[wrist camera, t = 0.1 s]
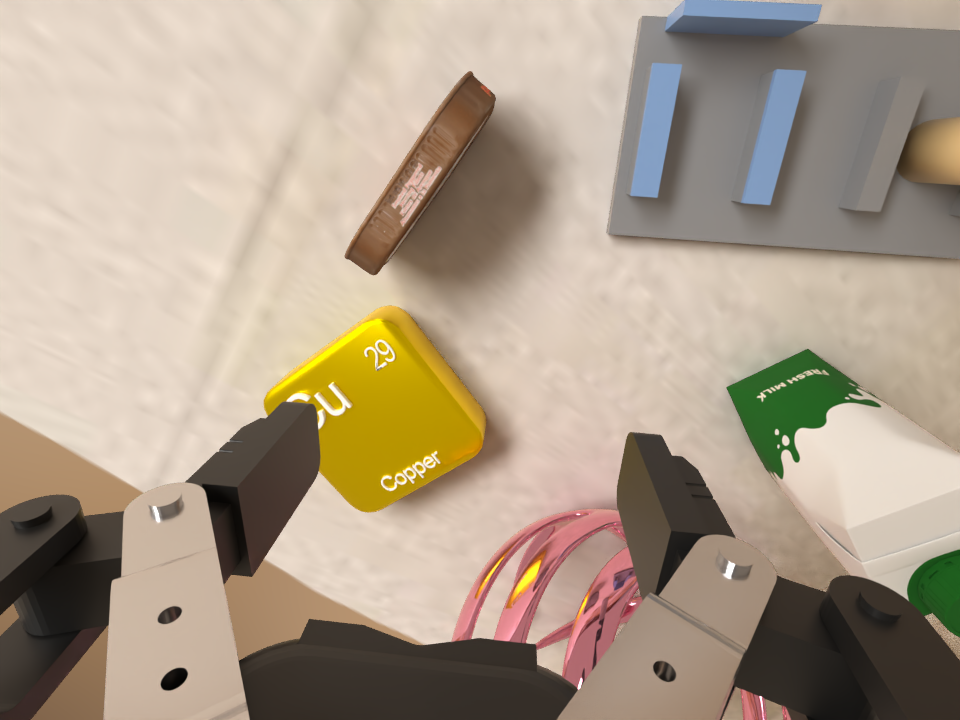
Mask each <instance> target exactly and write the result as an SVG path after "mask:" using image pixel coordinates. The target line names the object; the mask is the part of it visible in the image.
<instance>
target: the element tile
mask: <svg viewBox="0 0 960 720" xmlns="http://www.w3.org/2000/svg"><path fill="white" fill-rule="evenodd" d="M284 401H287V402H299V403H310V404H314V405H315V407H316V411H317V419H318V431H319V443H320V456H321V458H320V467H319V472H320V473H321V474H322V475H323V476H324V477H325V478H326V479H327V480H328V481H329V482H330V484H331V485H332V486H333V487H334V488H335V489H336V490H337V491H338V492H339V493H340V494H341V495H342V496H343V497H344V498H345V500H346V501H347V502H348V503H349V504H350V505H352V506H353V507H354V508H356V509H358V510H360V511H363V512H368V513H369V512H376V511H379V510H381V509H383V508H385V507H387V506H388V505H390V504H392V503H394V502H396V501H397V500H399V499H401V498H403V497H404V496H406V495H408V494H410V493H412V492H413V491H415V490H417V489H419V488H420V487H422V486H424V485H426V484H427V483H429V482H431V481H433V480H435V479H436V478H438V477H440V476H442V475H443V474H445V473H447V472H449V471H450V470H452V469H454V468H456V467H458V466H459V465H461V464H463V463H465V462H466V461H468V460H470V459H472V458H473V457H474V456H476V455H477V454H478V453H479V451H480V450H481V448H482V446H483V441H484V435H485V427H486V416H485V413H484V411H483V409H482V408H481V406H480V405H479V404H478V402H477V401H476V400H475V399H474V397H473V396H472V395H471V393H470V392H469V391H468V390H467V388H466V387H465V386H464V384H463V383H462V382H461V381H460V379H459V378H458V377H457V375H456V374H455V373H454V372H453V370H452V369H451V368H450V366H449V365H448V364H447V363H446V361H445V360H444V359H443V357H442V356H441V355H440V354H439V352H438V351H437V350H436V348H435V347H434V346H433V345H432V343H431V342H430V341H429V339H428V338H427V337H426V336H425V334H424V333H423V332H422V330H421V329H420V328H419V327H418V325H417V324H416V323H415V321H414V320H413V319H412V318H411V316H410V315H409V314H408V313H407V312H406V311H404V310H402V309H401V308H399V307H396V306H384V307H381V308H379V309H376V310H375V311H373V312H372V313H371V314H369V315H368V316H366V317H365V318H364V319H362V320H361V321H360V322H358V323H357V324H355V325H354V326H353V327H351V328H350V329H348V330H347V331H346V332H344V333H343V334H341V335H340V336H339V337H337V338H336V339H335V340H333V341H332V342H330V343H329V344H328V345H326V346H325V347H323V348H322V349H321V350H319V351H318V352H317V353H315V354H314V355H312V356H311V357H310V358H308V359H307V360H305V361H304V362H303V363H301V364H300V365H299V366H297V367H296V368H294V369H293V370H292V371H290V372H289V373H288V374H287V375H286V376H285V377H284V378H282V379H281V380H280V381H279V382H278V383H277V384H276V385H275V386H274V387H273V388H272V389H271V390H270V391H269V392H268V393H267V395H266V397H265V399H264V409H265V411H266V414H267V415H268V416H269V415H270V414H271V413H272V412H273V411H274V410H275V409H276V408H277V407H278V406H279V405H280V404H281V403H282V402H284Z"/></svg>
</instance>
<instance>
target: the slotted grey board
mask: <svg viewBox="0 0 960 720" xmlns="http://www.w3.org/2000/svg"><path fill="white" fill-rule="evenodd" d="M821 6H822V5H817V4H794V3H771V2H749V1H726V0H684V1H683V2H682V3H681V4H680V5H679V6H678V7H677V8H676V9H675V10H674V11H673V12H672V13H671V14H670V15H669V16H668V17H656V16H642V17H641V18H640V19H639V24H638V30H637V37H636V43H635V50H634V56H633V63H632V69H631V76H630V82H629V89H628V95H627V102H626V108H625V115H624V121H623V128H622V135H621V141H620V148H619V154H618V161H617V167H616V174H615V180H614V187H613V193H612V200H611V206H610V213H609V219H608V226H607V233H608V234H611V235H626V236H640V237H654V238H668V239H683V240H697V241H711V242H726V243H740V244H754V245H768V246H783V247H797V248H811V249H825V250H840V251H854V252H868V253H883V254H897V255H911V256H925V257H940V258H954V259H960V185H950V184H934V183H918V182H911V181H908V180H906V179H904V178H903V177H902V176H901V175H900V174H899V172H898V170H897V168H896V166H897V163H898V161H899V158H900V155H901V152H902V149H903V147H904V144H905V141H906V138H907V135H908V133H909V132H910V131H911V130H912V129H913V128H914V127H916V126H917V125H919V124H921V123H923V122H926V121H929V120H933V119H943V118H953V117H960V31H959V30H937V29H916V28H894V27H872V26H851V25H829V24H813V23H815V22H817V21H818V17H819V14H820V10H821Z"/></svg>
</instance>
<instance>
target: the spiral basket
mask: <svg viewBox="0 0 960 720" xmlns="http://www.w3.org/2000/svg"><path fill="white" fill-rule="evenodd" d="M604 529H606V530H608V531H610V532H612V533H613V534H615V535H617V536H618V537H620V538H621V539H622V540H624V541H625V542H626V543H627V541H626V537H625V534H624V530H623V526H622V522H621V519H620V515H619V511H618V510H610V509H583V510H574V511H568V512H563V513H558V514H554V515H551V516H548V517H545V518H542V519H540V520H538V521H536V522H534V523H532V524H530V525H528V526H526V527H525V528H523V529H522V530H520V531H519V532H517V533H516V534H515V535H513V536H512V537H511V538H510V539H509V540H508V541H506V542H505V543H504V544H503V545H502V546H501V547H500V548H499V549H498V550H497V552H496V553H495V554H494V555H493V556H492V557H491V559H490V560H489V561H488V562H487V564H486V565H485V567H484V568H483V569H482V571H481V573H480V574H479V576H478V577H477V579H476V581H475V582H474V584H473V586H472V588H471V590H470V592H469V594H468V596H467V598H466V600H465V603H464V605H463V607H462V610H461V612H460V615H459V618H458V621H457V624H456V627H455V630H454V633H453V637H452V641H451V642H454V641H461V640H469V639H471V638H472V634H473V631H474V628H475V625H476V622H477V619H478V616H479V613H480V611H481V608H482V606H483V603H484V601H485V599H486V597H487V595H488V593H489V591H490V589H491V587H492V585H493V583H494V581H495V580H496V578H497V576H498V575H499V573H500V572H501V570H502V569H503V567H504V566H505V565H506V563H507V562H508V561H509V560H510V558H511V557H512V556H513V555H514V554H515V553H516V552H517V550H518V549H519V548H520V547H522V546H523V545H524V544H525V543H526V542H527V541H528V540H530V539H531V538H532V537H534V536H535V535H536V536H535V538H534V539H533V540H532V542H531V543H530V545H529V546H528V548H527V550H526V552H525V554H524V556H523V558H522V560H521V562H520V565H519V568H518V571H517V574H516V577H515V581H514V585H513V588H512V590H511V592H510V594H509V596H508V599H507V601H506V603H505V606H504V608H503V611H502V614H501V617H500V620H499V623H498V626H497V629H496V632H495V636H494V640H500V641H509V642H518V643H526V640H527V636H528V633H529V629H530V626H531V623H532V620H533V617H534V614H535V612H536V609H537V606H538V604H539V602H540V599H541V597H542V595H543V593H544V591H545V589H546V587H547V585H548V583H549V582H550V580H551V578H552V577H553V575H554V574H555V572H556V571H557V569H558V568H559V566H560V565H561V564H562V562H563V561H564V560H565V559H566V557H567V556H568V555H569V554H570V553H571V552H572V551H573V550H574V549H575V548H576V547H577V546H578V545H579V544H581V543H582V542H583V541H584V540H586V539H587V538H589V537H590V536H592V535H594V534H595V533H597V532H599V531H601V530H604ZM638 588H639V586H638V582H637V578H636V575H635V571H634V567H633V563H632V560H631V556H630V552H629V549H628V546H627V547H626V548H624V549H623V550H621V551H620V552H619V553H617V554H616V555H615V556H614V557H613V558H612V559H611V560H610V561H609V562H608V563H607V564H606V565H605V566H604V568H603V569H602V570H601V571H600V573H599V574H598V575H597V577H596V578H595V580H594V581H593V583H592V584H591V586H590V588H589V590H588V591H587V593H586V595H585V597H584V599H583V601H582V604H581V606H580V608H579V611H578V613H577V616H576V619H575V620H573V621H571V622H569V623H567V624H566V625H564V626H562V627H560V628H559V629H557V630H555V631H554V632H552V633H550V634H549V635H547V636H546V637H544V638H543V639H541V640H540V641H539V642H537V643H536V650H538V649H541V648H544V647H546V646H549V645H551V644H553V643H556V642H558V641H561V640H563V639H566V638H569V637H570V638H569V642H568V646H567V650H566V655H565V660H564V666H563V672H562V677H563V678H565V679H566V680H568V681H569V682H571V683H572V684H573V685H575V686H576V687H577V688H578V689H579V688H580V687H581V685H582V684H583V682H584V681H585V680H586V678H587V677H588V676H589V674H590V673H591V672H592V670H593V669H594V667H595V666H596V665H597V663H598V662H599V661H600V659H601V658H602V656H603V655H604V654H605V652H606V651H607V650H608V648H609V647H610V645H611V644H612V643H613V641H614V638H615V635H616V632H617V629H618V626H619V624H620V623H626V622H628V621H629V619H630V618H631V617H632V615H633V614H634V612H635V611H636V610H637V608H638V607H639V606H640V604H641V603H642V602H643V601H642V597H636V598H632V597H633V595H634V594H635V592H636V591H637V590H638ZM631 598H632V599H631ZM740 692H741V700H742V710H743V720H767V713H766V704H765V698H762V697H760V696H757V695H755V694H753V693H750V692H748V691H745V690H743V689H740ZM781 706H782V705H781ZM782 713H783V720H791V718H790V716H789V713H788V711H787V709H786V707H784V706H782Z"/></svg>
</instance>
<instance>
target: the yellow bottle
mask: <svg viewBox="0 0 960 720" xmlns="http://www.w3.org/2000/svg"><path fill="white" fill-rule="evenodd" d="M896 168H897V170H898V172H899V174H900V175H901V176H902V177H903V178H904V179H906V180H908V181H911V182H918V183H934V184H950V185H960V117H953V118H943V119H933V120H929V121H926V122H923V123H921V124H919V125H917V126H916V127H914V128H913V129H912V130H911V131H910V132H909V133H908V135H907V138H906V141H905V144H904V147H903V149H902V152H901V155H900V158H899V161H898V163H897V166H896Z"/></svg>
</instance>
